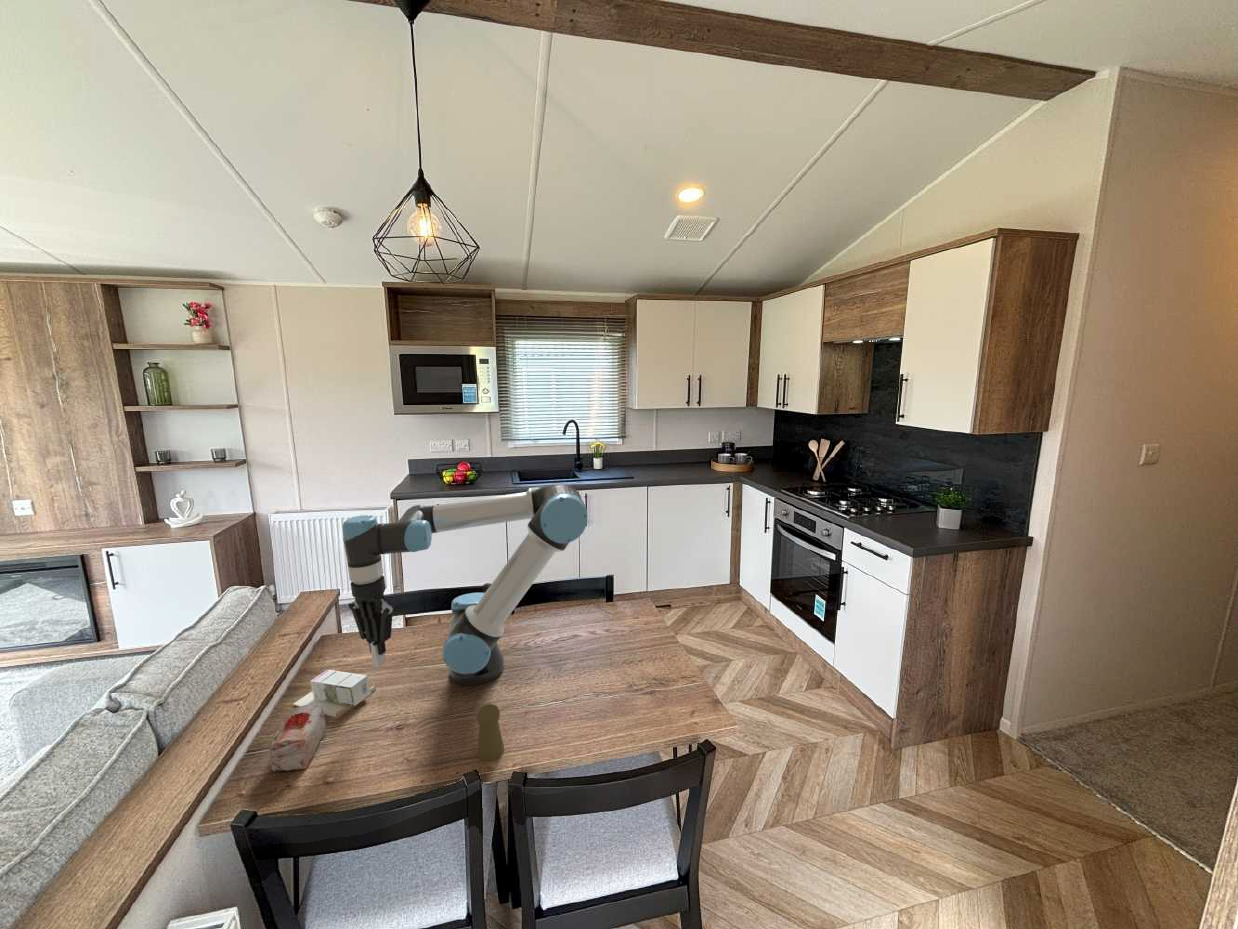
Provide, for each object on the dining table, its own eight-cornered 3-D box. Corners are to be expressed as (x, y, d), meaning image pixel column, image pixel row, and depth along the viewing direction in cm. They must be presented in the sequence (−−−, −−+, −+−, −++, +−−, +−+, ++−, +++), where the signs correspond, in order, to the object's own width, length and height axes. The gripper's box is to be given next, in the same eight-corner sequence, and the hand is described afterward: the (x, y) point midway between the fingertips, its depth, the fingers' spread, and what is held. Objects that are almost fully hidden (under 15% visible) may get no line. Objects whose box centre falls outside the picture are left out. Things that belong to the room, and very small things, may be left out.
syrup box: (368, 674, 132) (328, 668, 137) (349, 687, 127) (308, 681, 132) (371, 693, 133) (331, 686, 138) (353, 707, 128) (312, 700, 133)
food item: (310, 772, 109) (304, 733, 107) (269, 780, 107) (262, 740, 105) (330, 729, 122) (325, 694, 120) (293, 735, 120) (288, 699, 118)
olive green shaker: (480, 742, 117) (476, 700, 115) (505, 740, 117) (503, 699, 115) (474, 762, 111) (471, 718, 109) (502, 759, 112) (499, 716, 109)
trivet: (375, 689, 137) (375, 686, 137) (338, 718, 126) (337, 714, 126) (332, 678, 142) (332, 675, 142) (293, 705, 131) (292, 701, 131)
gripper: (399, 574, 123) (410, 660, 128) (359, 569, 127) (371, 652, 132) (375, 587, 116) (388, 677, 121) (334, 581, 121) (348, 668, 125)
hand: (379, 664), depth 126 cm, fingers closed
